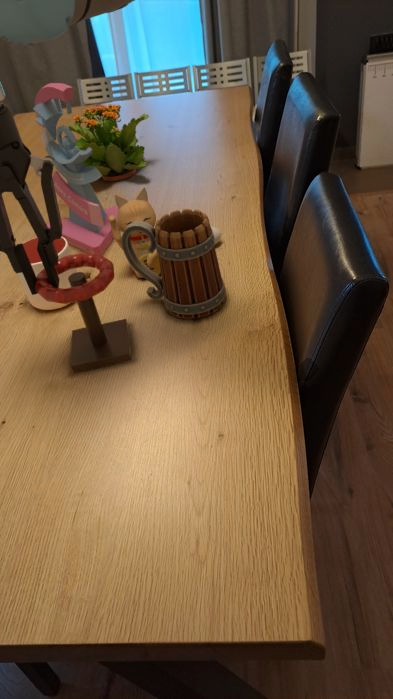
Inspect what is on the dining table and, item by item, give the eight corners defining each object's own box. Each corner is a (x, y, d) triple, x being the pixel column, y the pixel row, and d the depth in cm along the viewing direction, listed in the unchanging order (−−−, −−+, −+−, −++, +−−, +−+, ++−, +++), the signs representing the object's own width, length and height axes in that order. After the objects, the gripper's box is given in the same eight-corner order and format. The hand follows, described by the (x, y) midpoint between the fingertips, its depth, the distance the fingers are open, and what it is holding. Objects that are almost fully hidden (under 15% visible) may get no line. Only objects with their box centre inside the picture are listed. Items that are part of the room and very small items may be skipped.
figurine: (128, 288, 90) (107, 211, 81) (120, 263, 98) (100, 190, 88) (173, 275, 91) (157, 199, 82) (162, 251, 99) (146, 178, 89)
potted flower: (180, 171, 129) (168, 99, 118) (100, 204, 121) (78, 129, 109) (134, 151, 146) (119, 86, 135) (60, 179, 137) (38, 112, 126)
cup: (53, 278, 97) (35, 232, 90) (94, 285, 93) (78, 237, 86) (19, 308, 91) (-3, 261, 84) (62, 317, 87) (42, 268, 80)
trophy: (45, 233, 113) (-9, 90, 93) (102, 203, 121) (63, 65, 101) (97, 257, 101) (48, 98, 81) (157, 222, 109) (125, 70, 89)
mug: (231, 284, 87) (222, 203, 77) (220, 322, 79) (208, 238, 69) (147, 283, 91) (128, 207, 81) (129, 319, 83) (105, 239, 73)
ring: (114, 256, 75) (110, 245, 73) (117, 296, 66) (113, 284, 65) (41, 270, 74) (37, 259, 73) (35, 312, 66) (30, 300, 65)
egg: (192, 243, 100) (189, 226, 97) (221, 237, 100) (219, 220, 97) (195, 252, 97) (192, 235, 94) (225, 246, 97) (223, 229, 94)
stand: (128, 325, 82) (107, 254, 73) (131, 360, 75) (108, 286, 66) (74, 337, 82) (46, 267, 73) (73, 373, 75) (42, 301, 66)
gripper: (44, 88, 58) (99, 262, 73) (-87, 114, 57) (-5, 284, 72) (39, 104, 52) (99, 289, 67) (-106, 133, 51) (-12, 313, 67)
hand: (45, 286), depth 70 cm, fingers closed on ring, 2 cm apart
